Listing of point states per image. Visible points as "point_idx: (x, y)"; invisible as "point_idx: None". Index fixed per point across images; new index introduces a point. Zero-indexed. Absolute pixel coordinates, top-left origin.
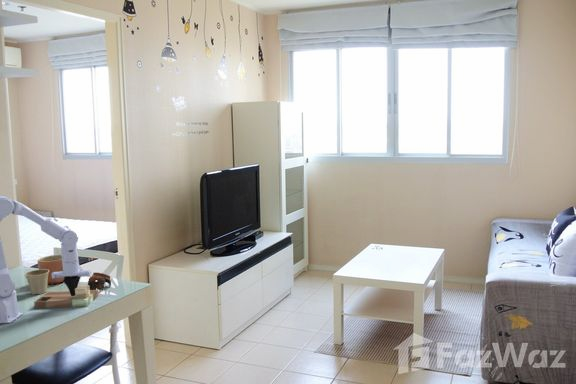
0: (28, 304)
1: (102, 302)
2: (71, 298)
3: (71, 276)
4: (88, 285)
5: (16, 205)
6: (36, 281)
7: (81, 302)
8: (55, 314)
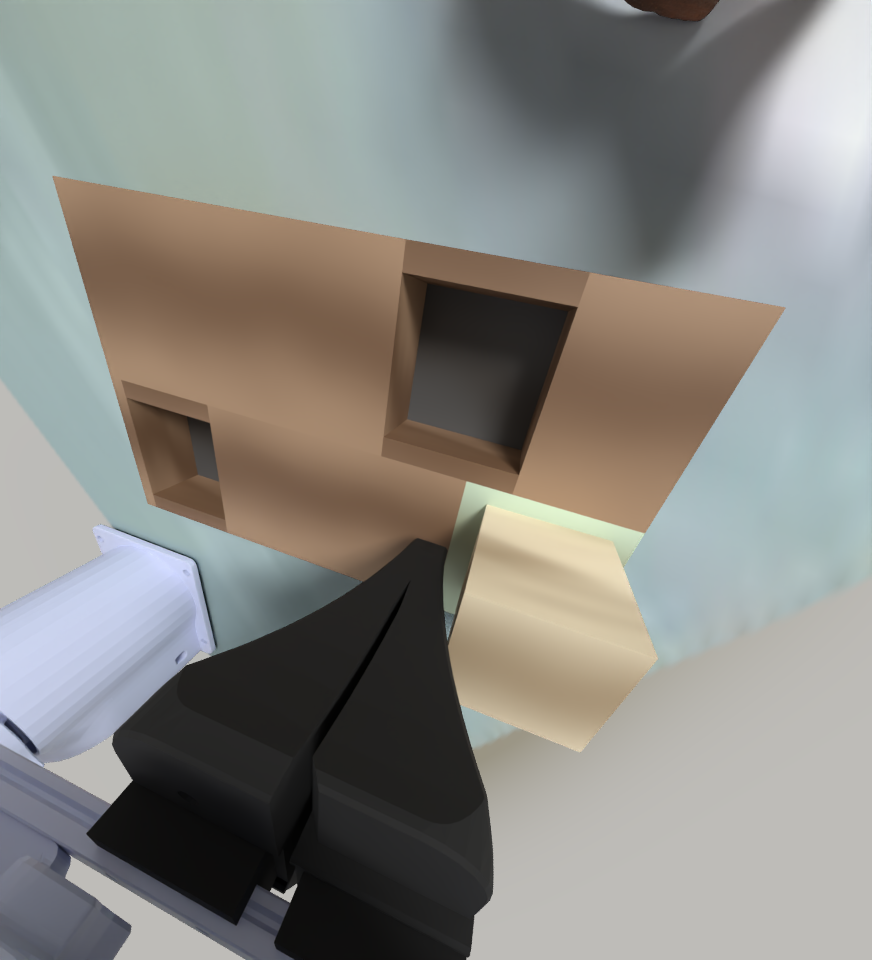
0: (99, 371)
1: (719, 577)
2: None
3: (267, 925)
4: (641, 662)
5: None
6: None
7: None
8: None
